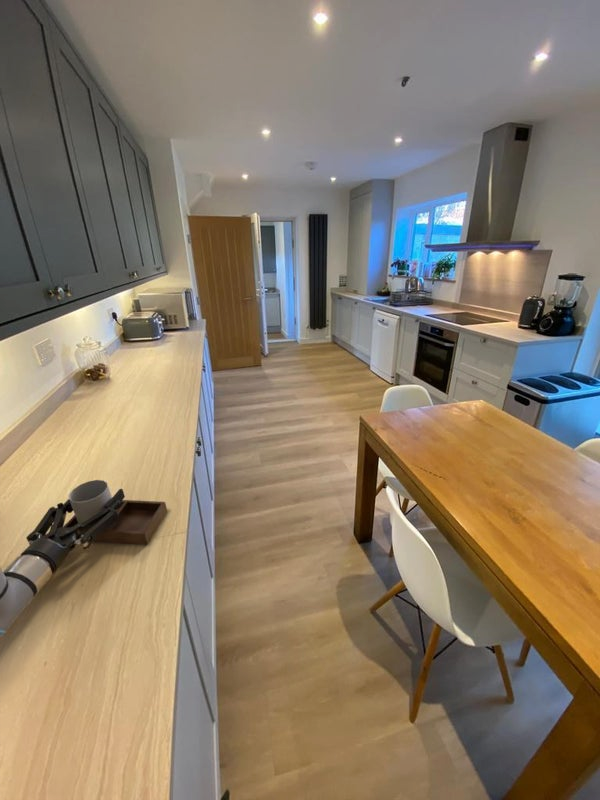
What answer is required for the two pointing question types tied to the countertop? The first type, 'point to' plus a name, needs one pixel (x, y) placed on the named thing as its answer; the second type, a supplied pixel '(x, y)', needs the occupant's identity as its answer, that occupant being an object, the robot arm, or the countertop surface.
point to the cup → (89, 499)
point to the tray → (132, 522)
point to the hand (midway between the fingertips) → (103, 492)
